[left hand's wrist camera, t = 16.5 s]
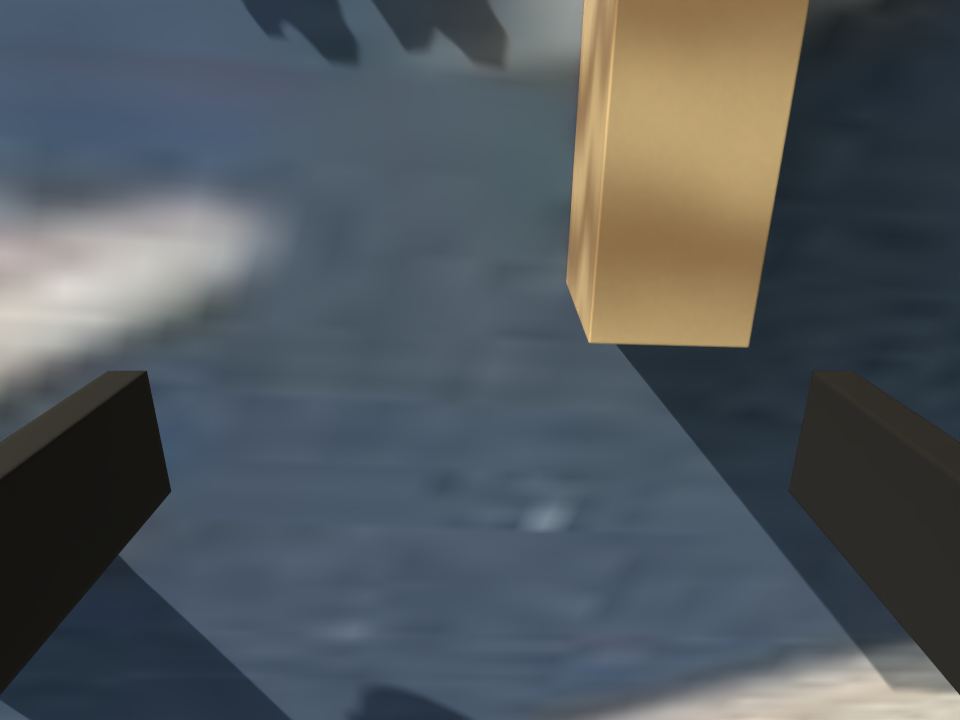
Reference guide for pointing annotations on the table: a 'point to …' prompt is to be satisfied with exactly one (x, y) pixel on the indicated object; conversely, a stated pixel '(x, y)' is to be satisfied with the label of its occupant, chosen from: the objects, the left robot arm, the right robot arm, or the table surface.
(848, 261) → the table surface
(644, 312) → the oak beam
